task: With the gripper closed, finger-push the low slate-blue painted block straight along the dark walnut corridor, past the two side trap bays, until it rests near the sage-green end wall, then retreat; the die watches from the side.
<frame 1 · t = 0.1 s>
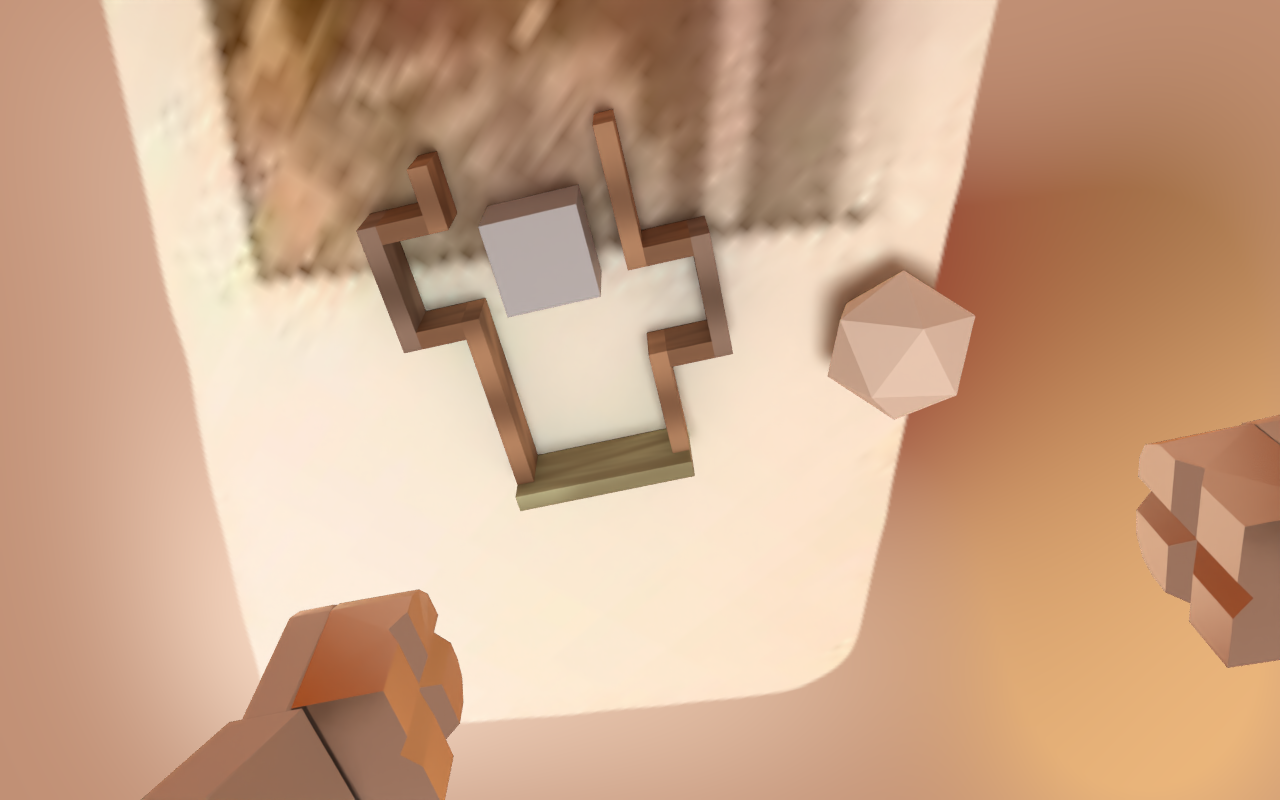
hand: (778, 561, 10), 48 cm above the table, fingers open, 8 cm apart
block: (545, 238, 58), resting in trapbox
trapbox: (565, 309, 60), on the table
die: (881, 321, 61), on the table
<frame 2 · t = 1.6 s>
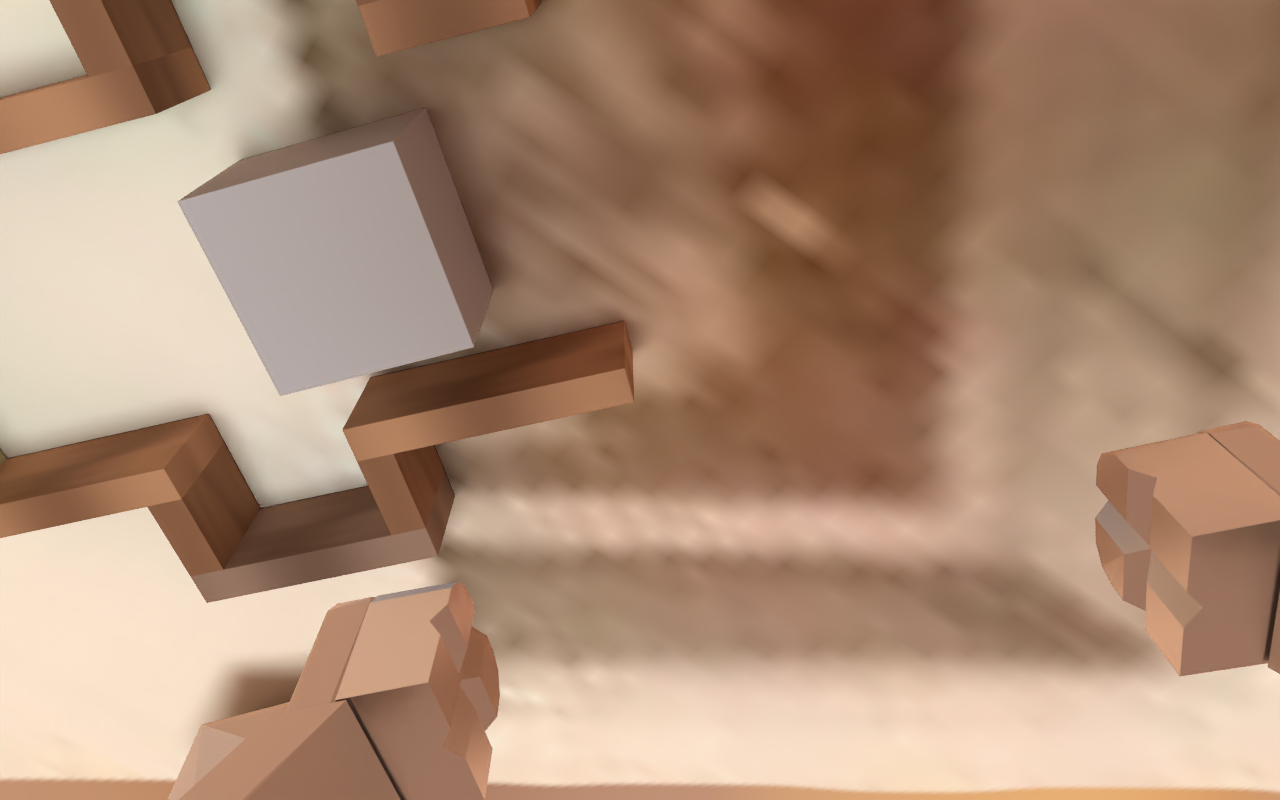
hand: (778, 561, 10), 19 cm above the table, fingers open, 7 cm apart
block: (372, 226, 28), resting in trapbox
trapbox: (224, 263, 28), on the table
die: (313, 730, 39), on the table
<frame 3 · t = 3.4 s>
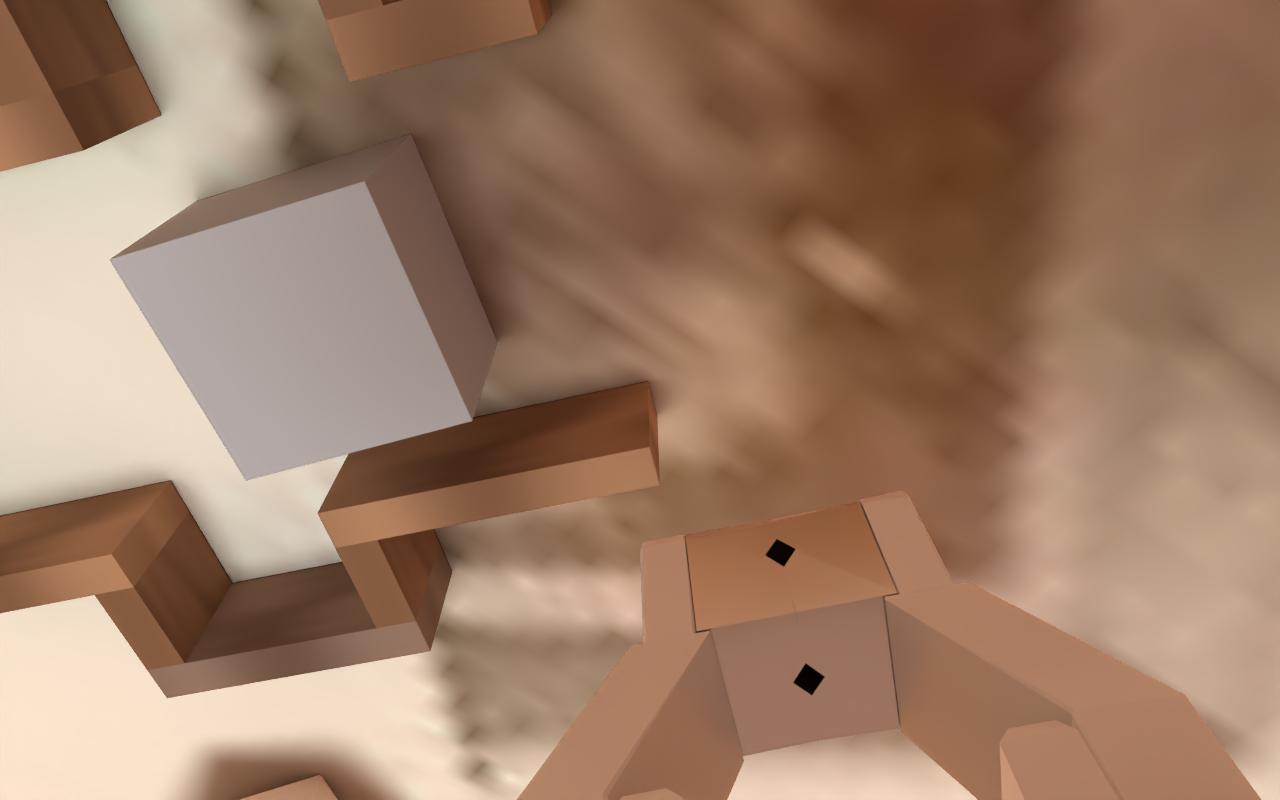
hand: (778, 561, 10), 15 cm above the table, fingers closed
block: (354, 272, 24), resting in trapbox
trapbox: (182, 314, 24), on the table
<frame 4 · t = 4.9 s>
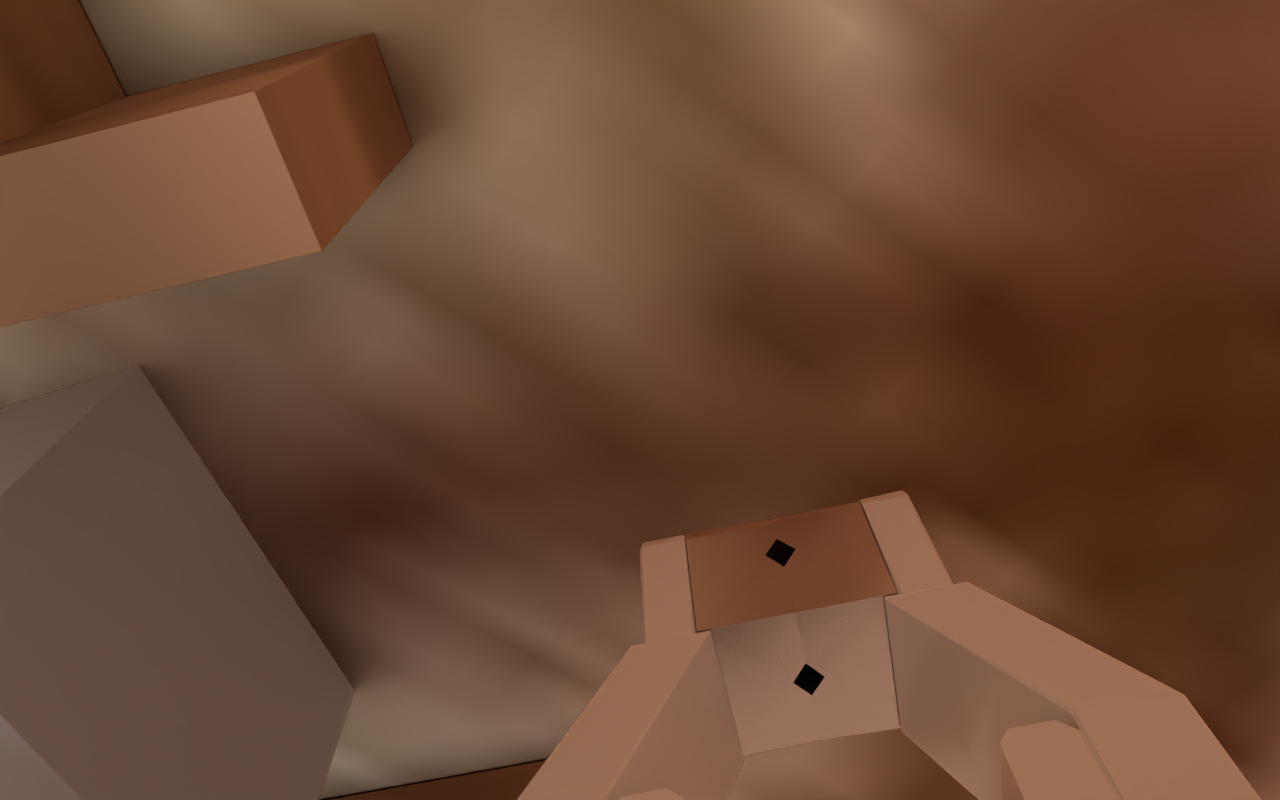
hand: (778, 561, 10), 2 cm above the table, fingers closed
block: (77, 592, 13), resting in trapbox
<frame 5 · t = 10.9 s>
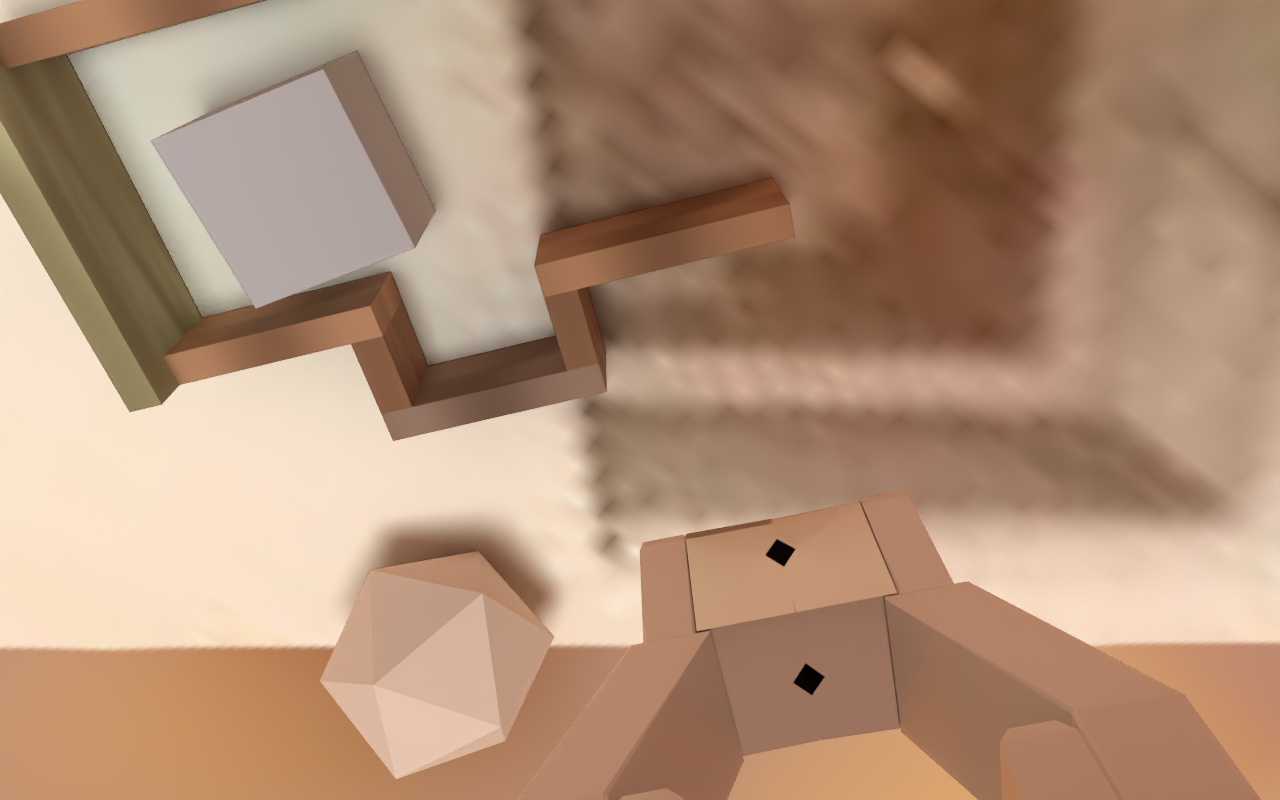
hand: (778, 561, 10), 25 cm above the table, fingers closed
block: (324, 162, 32), resting in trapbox
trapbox: (419, 123, 32), on the table
die: (453, 594, 42), on the table
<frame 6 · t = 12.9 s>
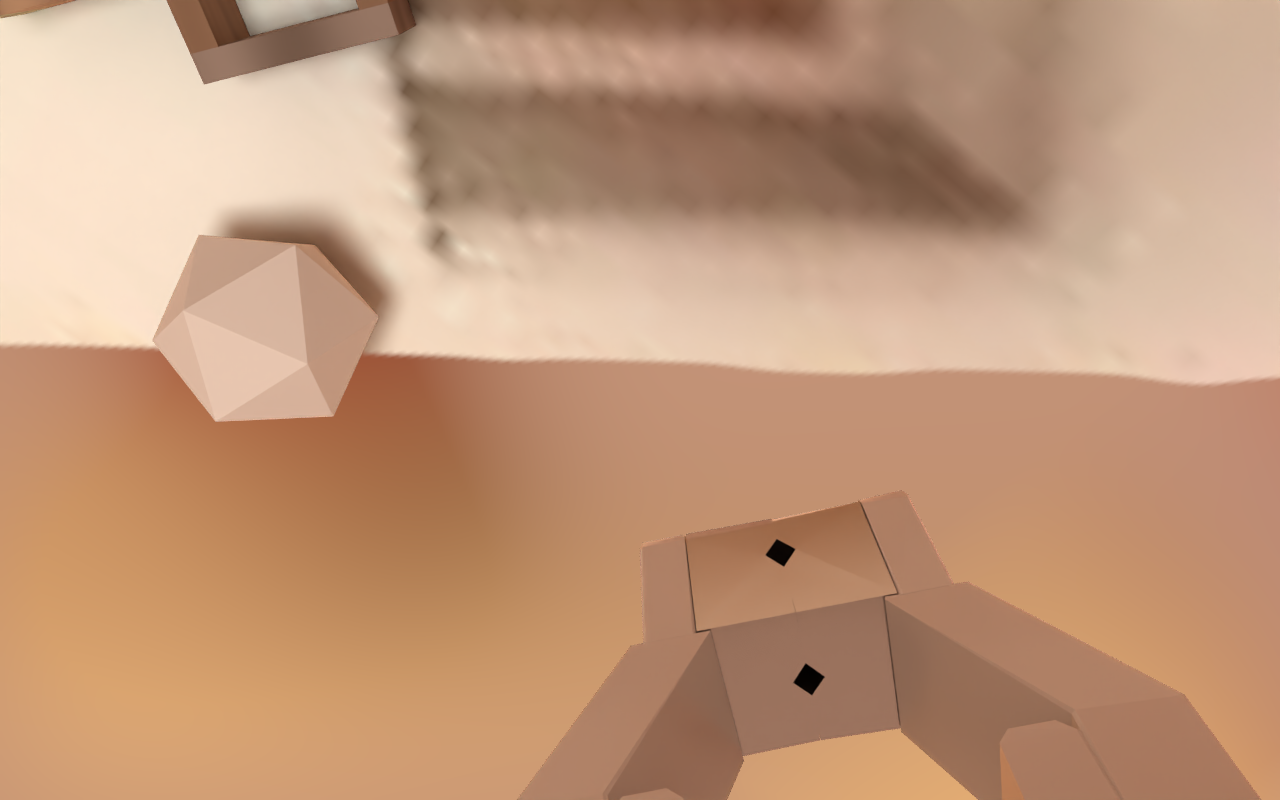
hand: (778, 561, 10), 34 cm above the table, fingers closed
die: (296, 294, 45), on the table
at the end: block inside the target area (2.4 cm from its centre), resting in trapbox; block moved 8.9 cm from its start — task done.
